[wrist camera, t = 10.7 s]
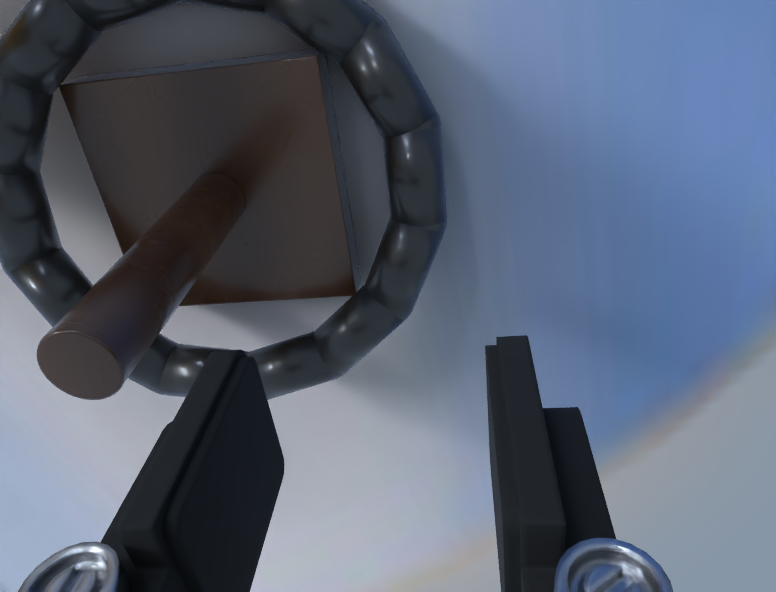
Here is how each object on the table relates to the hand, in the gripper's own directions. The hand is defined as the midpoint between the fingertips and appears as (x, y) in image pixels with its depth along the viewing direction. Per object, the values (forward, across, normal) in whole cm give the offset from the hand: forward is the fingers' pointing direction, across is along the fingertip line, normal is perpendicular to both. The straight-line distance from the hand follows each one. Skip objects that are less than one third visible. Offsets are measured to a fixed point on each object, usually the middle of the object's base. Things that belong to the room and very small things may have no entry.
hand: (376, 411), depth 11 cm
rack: (+13, +7, 0) cm, 15 cm away
